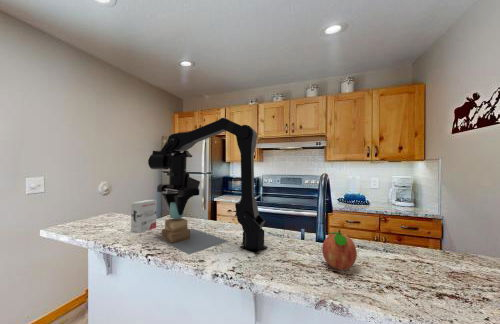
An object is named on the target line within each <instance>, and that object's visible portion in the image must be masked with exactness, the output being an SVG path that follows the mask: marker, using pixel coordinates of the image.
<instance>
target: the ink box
mask: <svg viewBox="0 0 500 324" xmlns="http://www.w3.org/2000/svg"><path fill="white" fill-rule="evenodd" d="M130 209H131V211H130V214H131V215H130V216H131V217H130V219H131V220H130V224H131V225H130V232H131V233H136V234H141V233H145V232H147V231H151V230H154V229H156V228H157V200H156V199H145V200H140V201H134V202H131V208H130Z"/></svg>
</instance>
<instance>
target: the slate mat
mask: <svg viewBox="0 0 500 324" xmlns="http://www.w3.org/2000/svg"><path fill="white" fill-rule="evenodd" d="M189 229H190V239H187V240H184V241H180V242H176V243H173V244H171V243H169V242H167V241H165V240H163V239H162V234H161V235H158V236H154V239H157V240H159V241H161V242H164V243H165V244H166V245H169V246H171V247H173V248H175V249H177V250H179V251H181V252H183V253H185V254H187V255H191V254H195V253H198V252H201V251H204V250H207V249H209V248H213V247H216V246H219V245H222V244H225V243H228V242H229V240H227V239H224V238H221V237H218V236H215V235H212V234H209V233H207V232H204V231H201V230H198V229H195V228H189Z"/></svg>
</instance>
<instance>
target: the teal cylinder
mask: <svg viewBox="0 0 500 324" xmlns="http://www.w3.org/2000/svg"><path fill="white" fill-rule="evenodd" d="M184 215H185V214H184V211H183V214H182V215H179V214H178V210H177V206H176V202H171V203H170V209H169V219H173V218H182V219H183V218H184Z"/></svg>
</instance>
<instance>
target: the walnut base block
mask: <svg viewBox="0 0 500 324" xmlns="http://www.w3.org/2000/svg"><path fill="white" fill-rule="evenodd" d="M190 229H191V228H188V227H187V230H183V231H178V232H174V233H172V232H170V231H168V230H165V228H161V235H162V239H163V240H165V241H167V242H169V243H171V244H173V243H176V242H180V241H184V240H187V239H190Z"/></svg>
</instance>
